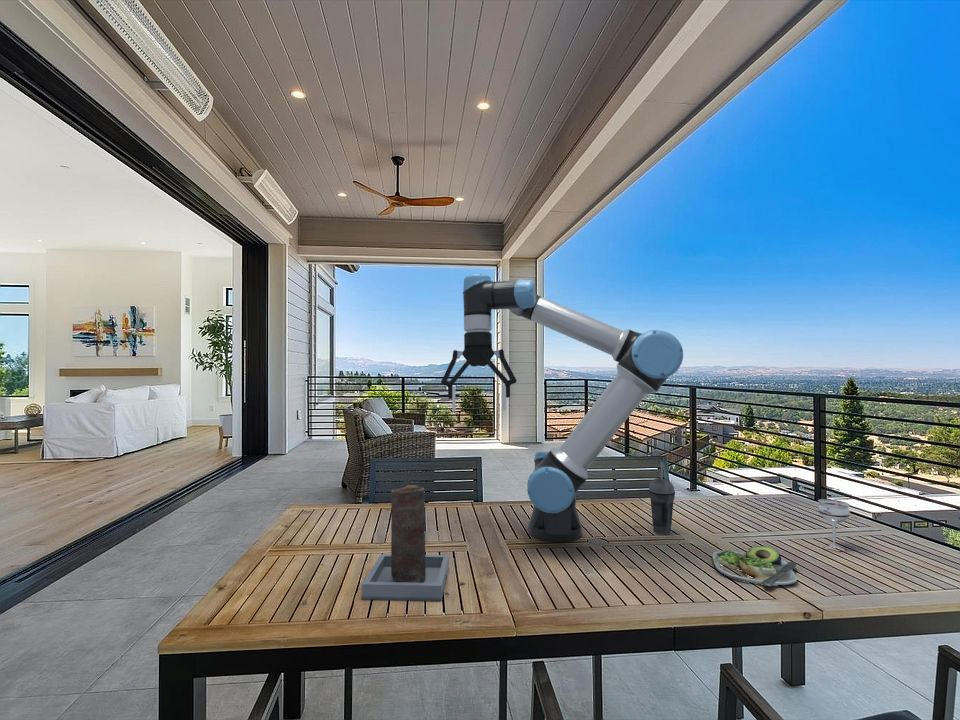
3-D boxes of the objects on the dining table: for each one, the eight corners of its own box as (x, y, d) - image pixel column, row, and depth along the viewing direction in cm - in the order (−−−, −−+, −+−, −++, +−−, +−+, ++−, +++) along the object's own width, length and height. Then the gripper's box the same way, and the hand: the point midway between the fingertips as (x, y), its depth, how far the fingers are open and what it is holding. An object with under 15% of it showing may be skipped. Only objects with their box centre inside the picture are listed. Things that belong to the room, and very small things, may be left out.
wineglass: (852, 548, 125) (851, 502, 125) (849, 555, 120) (848, 507, 120) (820, 542, 130) (819, 497, 130) (816, 548, 125) (815, 502, 125)
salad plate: (813, 601, 96) (813, 578, 96) (715, 585, 103) (715, 563, 104) (793, 566, 114) (793, 546, 114) (710, 554, 121) (710, 536, 121)
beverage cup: (648, 534, 135) (647, 463, 136) (649, 526, 142) (648, 459, 142) (675, 537, 132) (675, 465, 133) (675, 530, 139) (675, 461, 140)
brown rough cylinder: (395, 590, 98) (397, 492, 98) (385, 576, 104) (387, 484, 105) (430, 583, 101) (431, 488, 102) (418, 570, 108) (419, 481, 108)
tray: (448, 568, 110) (449, 555, 111) (441, 601, 94) (441, 585, 95) (380, 567, 111) (380, 554, 111) (361, 599, 95) (362, 584, 95)
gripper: (521, 332, 133) (523, 408, 132) (432, 334, 132) (433, 410, 131) (525, 330, 126) (527, 410, 125) (430, 331, 125) (432, 412, 124)
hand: (479, 410), depth 128 cm, fingers open, 13 cm apart
